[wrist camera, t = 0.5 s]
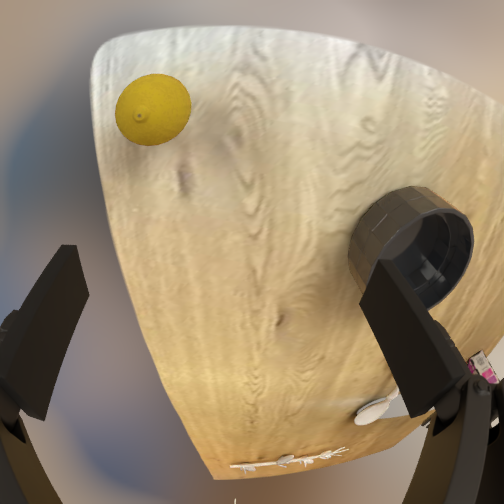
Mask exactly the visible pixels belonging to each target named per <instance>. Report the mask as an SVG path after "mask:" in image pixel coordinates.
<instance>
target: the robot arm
mask: <svg viewBox="0 0 504 504" xmlns="http://www.w3.org/2000/svg"><path fill="white" fill-rule="evenodd" d="M88 297H89V292H88V288H87V285H86V281H85V278H84V274H83V271H82V266H81V263H80V259H79V254H78V250H77V246H76V245H61V247H60V248H59V249H58V251H57V252H56V253H55V255H54V256H53V258H52V259H51V261H50V262H49V264H48V265H47V266H46V268H45V269H44V271H43V272H42V274H41V275H40V277H39V278H38V280H37V282H36V283H35V285H34V286H33V288H32V289H31V291H30V293H29V294H28V296H27V297H26V299H25V301H24V302H23V304H22V306H21V308H20V309H19V311H18V310H13V311H12V312H11V313H10V314H9V315H8V316H7V317H6V318H5V319H4V321H3V323H2V324H1V326H0V504H63V503H62V502H61V500H60V498H59V497H58V495H57V493H56V491H55V490H54V488H53V486H52V485H51V483H50V481H49V479H48V477H47V475H46V473H45V471H44V469H43V467H42V465H41V463H40V461H39V459H38V457H37V454H36V452H35V450H34V448H33V446H32V443H31V441H30V438H29V436H28V434H27V431H26V428H25V426H24V423H23V420H22V418H21V417H20V415H19V412H20V408H21V409H22V410H23V411H24V412H25V413H26V414H27V415H28V416H30V417H33V418H36V419H39V420H42V421H44V420H45V417H46V414H47V410H48V407H49V403H50V399H51V396H52V393H53V389H54V386H55V383H56V380H57V377H58V374H59V371H60V367H61V365H62V362H63V359H64V357H65V354H66V351H67V348H68V346H69V343H70V340H71V338H72V335H73V333H74V330H75V327H76V325H77V323H78V320H79V318H80V316H81V313H82V311H83V308H84V306H85V304H86V302H87V300H88ZM359 305H360V307H361V309H362V311H363V313H364V315H365V317H366V319H367V321H368V323H369V325H370V327H371V329H372V331H373V333H374V335H375V337H376V340H377V342H378V344H379V346H380V348H381V350H382V352H383V354H384V357H385V359H386V361H387V363H388V365H389V368H390V370H391V372H392V374H393V377H394V379H395V381H396V384H397V386H398V388H399V391H400V393H401V395H402V398H403V400H404V402H405V405H406V407H407V410H408V412H409V415H410V417H411V418H414V417H417V416H420V415H423V414H425V413H426V412H428V411H429V410H430V409H431V408H432V407H433V406H434V407H435V410H436V411H435V412H434V413H433V414H432V415H430V416H429V417H428V418H427V419H426V420H424V421H423V423H422V425H421V426H424V425H426V424H427V423H428V422H429V421H430V424H429V425H428V426H427V427H426V428H428V432H427V436H426V439H425V442H424V446H423V449H422V452H421V455H420V458H419V461H418V464H417V467H416V470H415V473H414V475H413V479H412V481H411V483H410V486H409V488H408V491H407V493H406V496H405V498H404V500H403V502H402V504H504V378H503V379H502V380H501V381H500V382H499V383H498V384H497V383H489V382H488V381H487V380H486V378H484V377H483V376H482V375H479V374H474V375H473V374H472V373H471V371H470V369H469V368H468V366H467V364H466V362H465V361H464V359H463V357H462V356H461V354H460V352H459V351H458V349H457V347H455V344H454V342H453V341H452V339H450V338H451V337H450V336H449V334H448V333H447V331H446V330H445V328H444V327H443V326H442V325H441V324H440V323H439V322H437V321H436V320H433V318H432V317H431V315H430V314H429V312H428V311H427V309H426V308H425V306H424V305H423V303H422V302H421V300H420V299H419V297H418V296H417V294H416V293H415V292H414V290H413V289H412V287H411V286H410V285H409V283H408V282H407V280H406V279H405V278H404V276H403V275H402V273H401V272H400V271H399V269H398V268H397V267H396V265H395V264H394V263H393V261H392V260H388V259H378V261H377V263H376V266H375V268H374V271H373V273H372V275H371V278H370V280H369V282H368V285H367V287H366V289H365V292H364V294H363V296H362V298H361V301H360V303H359ZM497 417H499V423H498V424H497V425H496V426H494V427H493V428H492V427H491V422H492V421H494V420H495V419H496V418H497Z"/></svg>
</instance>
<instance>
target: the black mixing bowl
mask: <svg viewBox="0 0 504 504" xmlns="http://www.w3.org/2000/svg"><path fill="white" fill-rule="evenodd" d="M473 247H474V235H473V228H472V225H471V224H470V222H469V220H468V218H467V217H466V215H465V214H463V213H462V212H461V211H459V210H458V209H457V208H456V207H454V206H453V205H452V204H450V203H449V202H448V201H446V200H445V199H444V198H442V197H441V196H440V195H438V194H437V193H435V192H433V191H431V190H430V189H428V188H426V187H415V186H409V187H406V188H402V189H399V190H396V191H392V192H391V193H389V194H388V195H386V196H385V197H383V198H382V199H380V200H379V201H377V202H376V203H375V204H374V205H373V206H372V207H371V208H370V209H369V211H368V212H367V213H366V214H365V215H364V216H363V217H362V219H361V220H360V222H359V224H358V226H357V228H356V230H355V232H354V234H353V235H352V238H351V243H350V248H349V252H348V261H349V269H350V272H351V274H352V276H353V278H354V279H355V281H356V283H357V285H358V286H359V288H360V290H361V292H362V294H364V292H365V289H366V287H367V285H368V282H369V280H370V278H371V275H372V273H373V271H374V268H375V266H376V263H377V261H378V259H388V260H392V261H393V263H394V264H395V265H396V267H397V268H398V269H399V271H400V272H401V273H402V275H403V276H404V278H405V279H406V280H407V282H408V283H409V285H410V286H411V287H412V289H413V290H414V292H415V293H416V294H417V296H418V297H419V299H420V300H421V302H422V303H423V305H424V306H425V308H426V309H427V311H429V310H430V309H432V308H433V307H434V306H436V305H437V304H439V303H440V302H441V301H443V300H444V299H445V298H446V297H447V296H448V295H449V294H450V293H451V292H452V291H453V290H454V288H455V287H456V286H457V284H458V283H459V281H460V280H461V278H462V277H463V275H464V274H465V272H466V269H467V267H468V265H469V262H470V260H471V257H472V252H473Z"/></svg>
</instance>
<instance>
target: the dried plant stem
mask: <svg viewBox="0 0 504 504" xmlns="http://www.w3.org/2000/svg"><path fill="white" fill-rule="evenodd" d="M343 448H345V447H343ZM343 448H339V449H338V450H336V451H334V452H332V453H331V450H329V451H326V452H324V451H323V452H324V453H323V452H322V453H321V454H320V455H317V456H311V457H308V456H307V455H306V456H302V457H300V458H298V459H293V458H294V455H288V456H285V457H283V456H281V457H280V458H279V459H278V461H274V462H265V463H254V464H249V463H242V464H240V465H230V467H240V469H241V471H242V468H243V469H244V472H245V474H246V470H248V471H255V470H256V468H255V467H254V466H265V465H275V464H277V465H278V466H281V467H286V466H283V465H280V464H284V463H287V464H290V462H297V461H300V464H301V461H303V462H304V464H305V467H306V463H309V464H311V463H313V462H314V461H313V458H318V457H320V458H322V457H325V456H326V457H327V459H328V458H331V456H330V455H334V453H338V452H337V451H339V450H341V449H343ZM347 450H349V449H347ZM343 451H346V450H343ZM339 452H342V451H339ZM337 456H342V455H337ZM322 459H326V458H322ZM235 504H236V502H235Z"/></svg>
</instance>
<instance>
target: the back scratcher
mask: <svg viewBox="0 0 504 504" xmlns="http://www.w3.org/2000/svg"><path fill="white" fill-rule="evenodd" d="M398 392H399V388H398V386H396V388H395V389H394V390H393V392H392V393H390V394H389V395H388V396H387V397H386V400H384V401H381V402H379V403H376V404H373V405H370V406H368V407H367V408H365V409H363V410H362V411H361V412H360V413H359V414H358V415H357V416H356V418H355V420H354V422H355V424H357V425H366V424H369V423H371V422H373V421H375V420H376V419H378V418H379V417H380V416H381V415H382V414H383V413H384V412H385V411H386V410H387V408H388V407H389V405H390V403H389V402H390V401H391V400H392V399H393V398H395V397H396V396H397V395H398Z"/></svg>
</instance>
